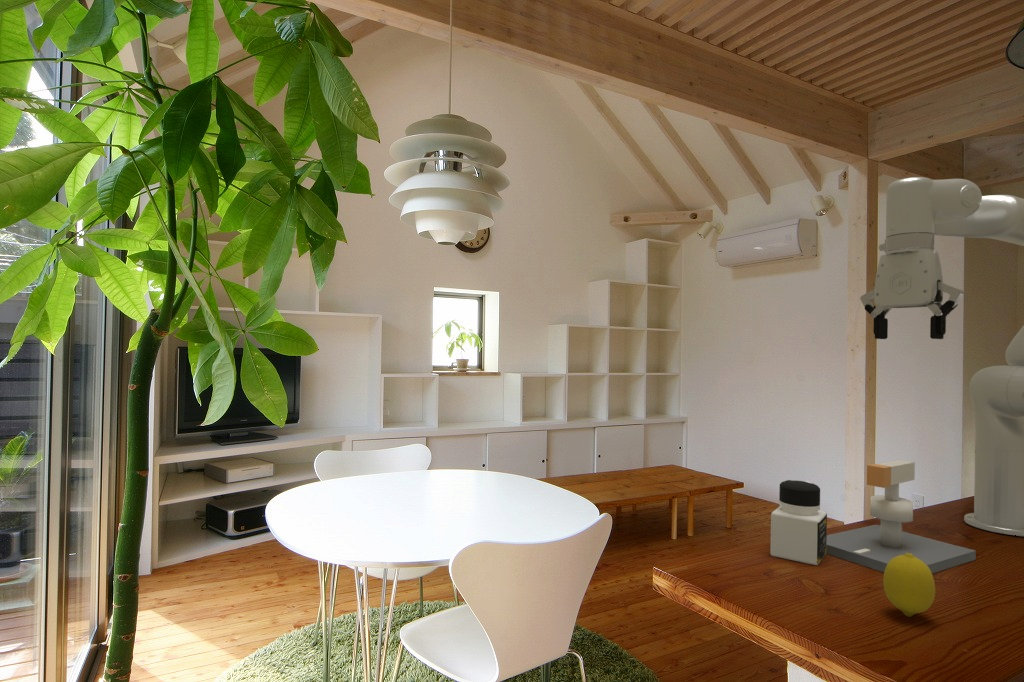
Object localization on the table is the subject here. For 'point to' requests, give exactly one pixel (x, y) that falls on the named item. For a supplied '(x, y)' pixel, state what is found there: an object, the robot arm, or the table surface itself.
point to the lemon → (909, 584)
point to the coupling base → (894, 547)
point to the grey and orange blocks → (891, 490)
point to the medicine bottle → (799, 523)
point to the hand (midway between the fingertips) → (907, 338)
